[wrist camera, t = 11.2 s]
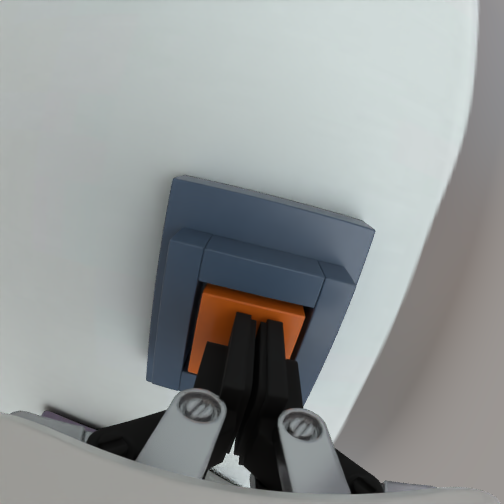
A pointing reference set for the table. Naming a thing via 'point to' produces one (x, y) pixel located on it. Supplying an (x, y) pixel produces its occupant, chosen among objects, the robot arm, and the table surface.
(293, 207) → the grey-blue boxy piece
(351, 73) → the table surface
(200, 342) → the orange key
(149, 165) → the table surface
